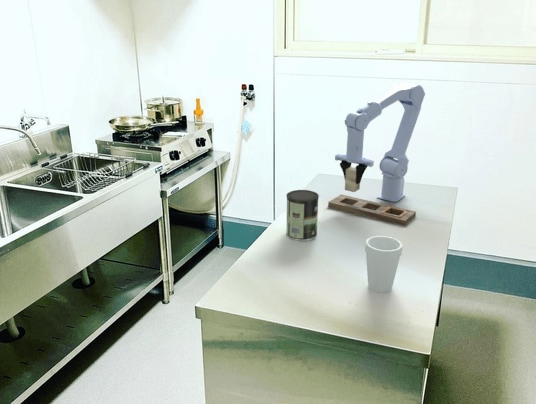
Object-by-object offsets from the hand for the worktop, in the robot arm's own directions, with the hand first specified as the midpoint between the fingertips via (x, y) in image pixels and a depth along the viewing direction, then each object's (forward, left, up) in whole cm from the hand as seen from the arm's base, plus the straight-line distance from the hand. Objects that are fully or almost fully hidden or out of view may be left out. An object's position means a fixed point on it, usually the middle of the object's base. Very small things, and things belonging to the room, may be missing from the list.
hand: (352, 181), depth 194 cm
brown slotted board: (0, +8, -10) cm, 13 cm away
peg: (0, 0, -3) cm, 3 cm away
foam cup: (+48, +33, -10) cm, 59 cm away
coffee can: (+32, -2, -10) cm, 34 cm away
